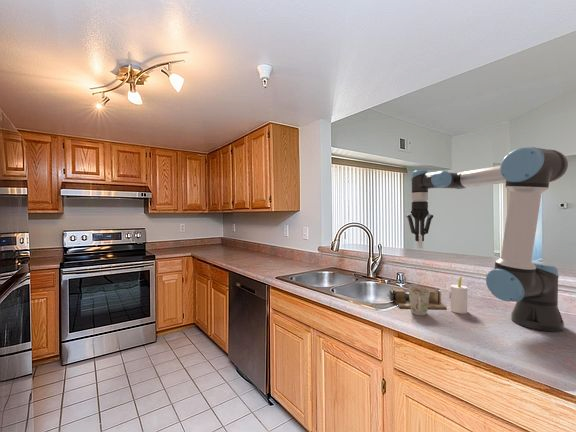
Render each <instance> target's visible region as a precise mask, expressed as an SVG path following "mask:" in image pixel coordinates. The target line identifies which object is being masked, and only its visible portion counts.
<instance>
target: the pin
mask: <svg viewBox="0 0 576 432" xmlns="http://www.w3.org/2000/svg"><path fill="white" fill-rule="evenodd" d="M388 293H389V296H388V298H389V301H390V302H394V299H395V292H394V291H392V290H389V292H388ZM405 299H409V293H408V292H405Z"/></svg>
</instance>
